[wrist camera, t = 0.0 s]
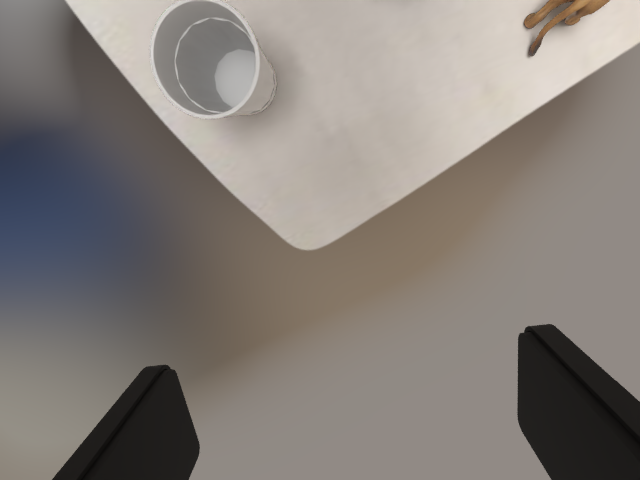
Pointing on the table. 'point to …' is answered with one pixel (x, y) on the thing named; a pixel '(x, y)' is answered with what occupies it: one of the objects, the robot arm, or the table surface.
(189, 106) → the cup
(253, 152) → the table surface
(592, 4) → the lion figurine
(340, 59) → the table surface
